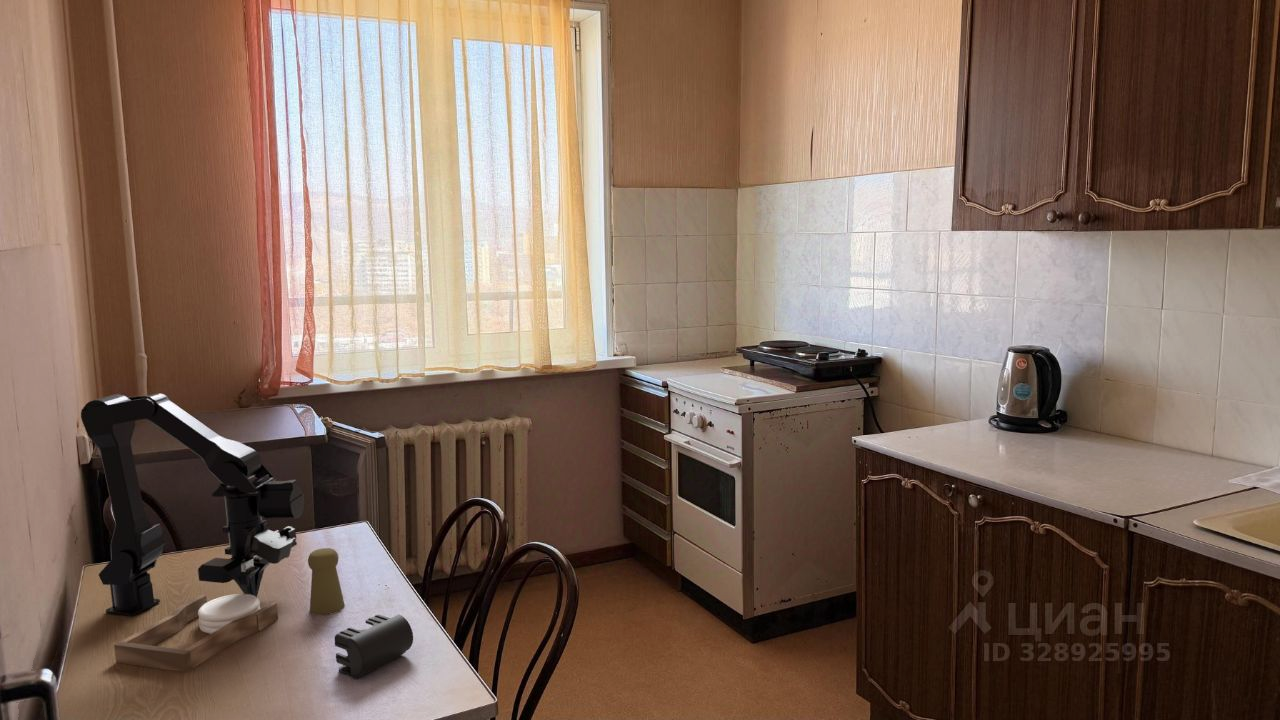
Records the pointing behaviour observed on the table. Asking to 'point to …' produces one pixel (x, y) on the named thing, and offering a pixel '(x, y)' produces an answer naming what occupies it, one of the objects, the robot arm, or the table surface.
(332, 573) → the cork
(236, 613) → the coaster
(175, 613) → the wooden u-shaped frame
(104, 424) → the robot arm
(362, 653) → the end cap
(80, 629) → the table surface
